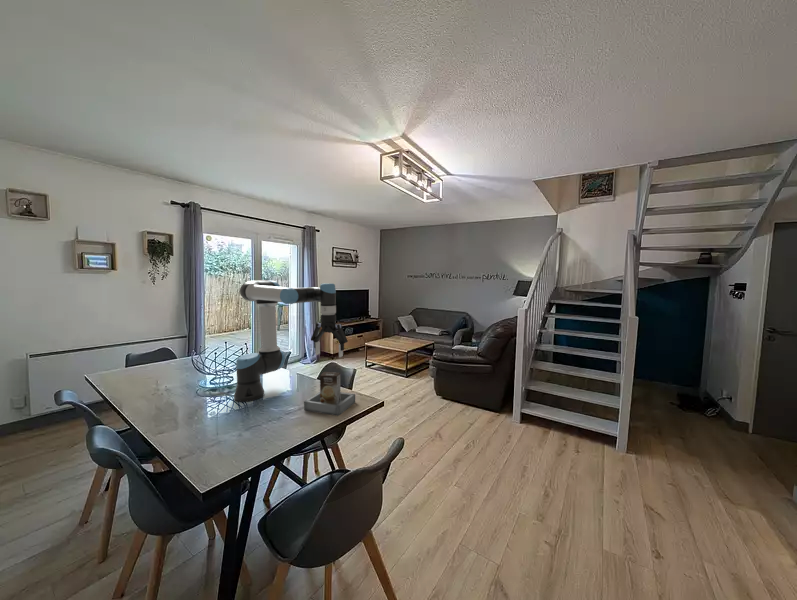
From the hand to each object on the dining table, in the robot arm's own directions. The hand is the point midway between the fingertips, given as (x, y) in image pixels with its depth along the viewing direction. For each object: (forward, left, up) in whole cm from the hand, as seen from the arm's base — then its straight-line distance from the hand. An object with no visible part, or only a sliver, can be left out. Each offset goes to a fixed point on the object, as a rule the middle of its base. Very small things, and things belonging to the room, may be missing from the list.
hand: (329, 355), depth 155 cm
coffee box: (0, 0, -26) cm, 26 cm away
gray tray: (0, 0, -26) cm, 26 cm away
